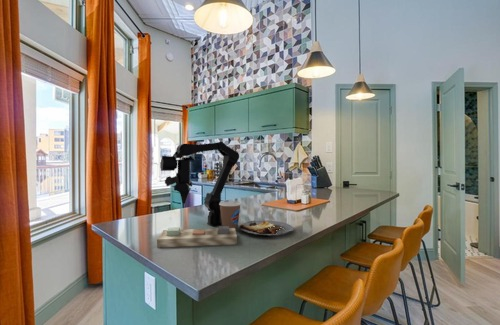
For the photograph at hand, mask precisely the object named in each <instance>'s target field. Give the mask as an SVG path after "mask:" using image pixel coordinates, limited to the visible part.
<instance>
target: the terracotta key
mask: <svg viewBox="0 0 500 325" xmlns="http://www.w3.org/2000/svg"><path fill="white" fill-rule="evenodd" d="M193 235H205V230H194V231H193Z"/></svg>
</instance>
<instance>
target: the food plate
mask: <svg viewBox="0 0 500 325" xmlns="http://www.w3.org/2000/svg"><path fill="white" fill-rule="evenodd" d="M273 226H275V227H273ZM270 227H271V228H270ZM280 227H282V228H284V229H285V232H284V231H283V232H280V233H279V231H280V230H279V229H282V228H280ZM238 228H239V230H240V231H242V232H245V233H247V234H251V235H257V236H267V237H270V236H275V237H278V236H279V235H280V236H283V235H285V234H288V233H289V232H294V230H295V227H293V225H292V224H289V223H287V222H282V221H280V220H279V221H278V220H264V219H263V220H251V221H247V222H244V223H241V224H240V225H239V226H238ZM268 228H269V229H268ZM276 230H278V231H276ZM276 233H278V234H276ZM280 236H279V237H280Z"/></svg>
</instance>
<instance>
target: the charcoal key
mask: <svg viewBox="0 0 500 325" xmlns="http://www.w3.org/2000/svg"><path fill="white" fill-rule="evenodd" d="M217 226H218V227H217V229H218V234H229V226H222V225H217Z"/></svg>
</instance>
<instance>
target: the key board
mask: <svg viewBox="0 0 500 325" xmlns="http://www.w3.org/2000/svg"><path fill="white" fill-rule="evenodd" d="M167 230H168V229H163V230H162V231H161V233H160V235H159V236H158V237H157V238H156V247H157V248H171V247H173V248H174V247H176V248H177V247H199V246H223V245H225V246H227V245H228V246H229V245H237V244H238V235H237V231H236V230H235V228H229V234H218V228H195V229H192V228H191V229H189V228H188V229H180V235H179V236H167ZM194 230H205V235H193V231H194Z"/></svg>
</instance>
